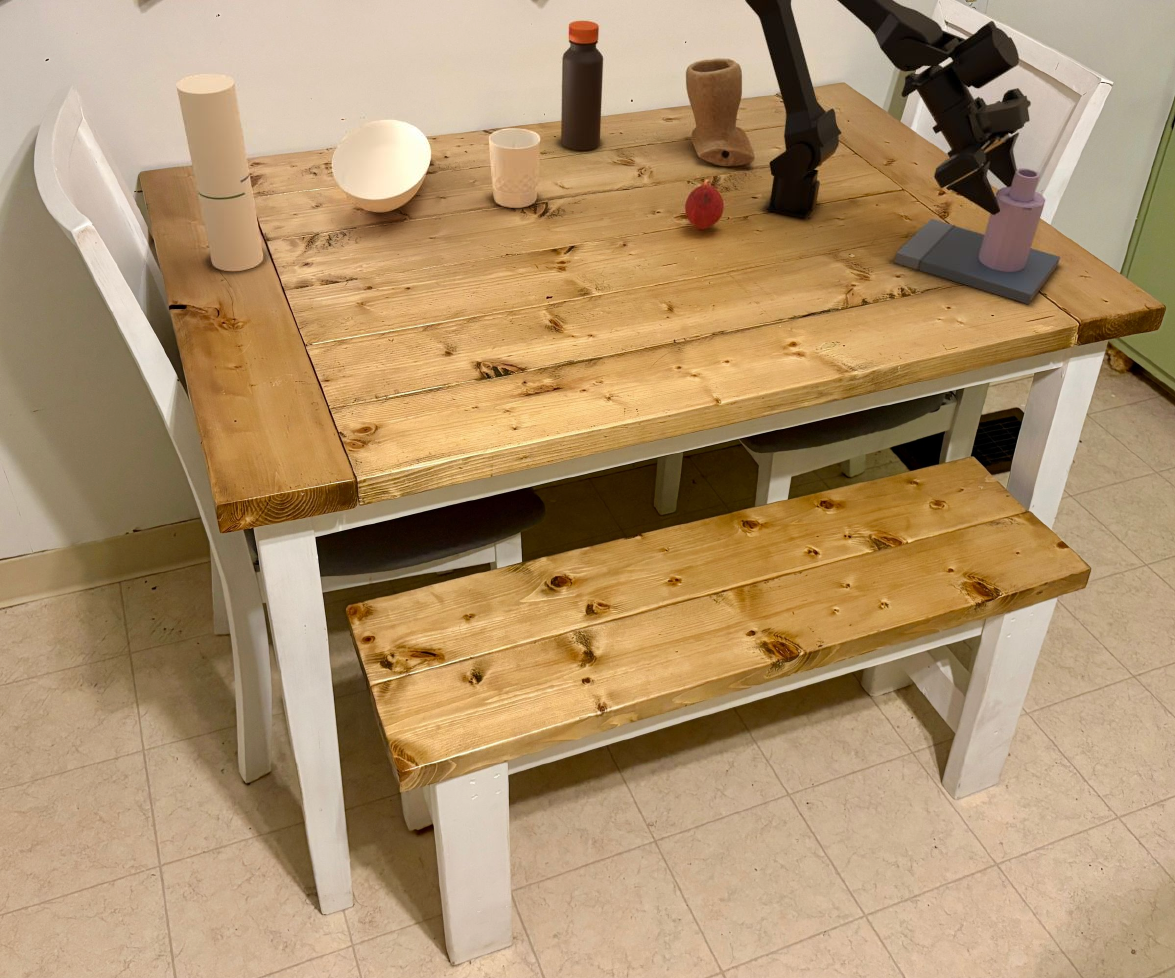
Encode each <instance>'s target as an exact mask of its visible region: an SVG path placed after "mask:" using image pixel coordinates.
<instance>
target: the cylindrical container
mask: <svg viewBox="0 0 1175 978" xmlns="http://www.w3.org/2000/svg"><path fill="white" fill-rule="evenodd" d="M175 86H176V91H177V96H178V101H179V105H180V111H181V115H182V121H183V125H184V132H185V136H186V142H187V146H188V151H189V156H190V161H191V162H190V163H191V166H192V172H193V176H194V180H195V187H196V192H197V196H198V201H199V206H200V211H201V216H202V221H203V226H204V230H205V236H206V241H207V246H208V250H209V256H210V261H211V264H212V266H213V267H214V268H216V269H218V270H221V271H226V272H240V271H241V272H242V271H246V270H250V269H253V268H255V267H257V266H259V265H260V264H261V263H262V262H263V260H264V252H263V246H262V241H261V235H260V229H259V222H258V217H257V211H256V210H257V209H256V205H255V199H254V194H253V193H254V192H253V186H252V180H251V174H250V168H249V162H248V157H247V151H246V150H247V149H246V145H245V139H244V132H243V125H242V121H241V114H240V108H239V102H238V97H237V92H236V85H235V80H234V79H233V78H232V77H230V76H228V75H225V74H219V73H200V74H194V75H190V76H186V77H183V78H181V79H180V80H178V81H177V82H176V85H175Z"/></svg>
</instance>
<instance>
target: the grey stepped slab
mask: <svg viewBox="0 0 1175 978" xmlns="http://www.w3.org/2000/svg"><path fill="white" fill-rule="evenodd" d="M984 235H985V233H980V232H977V231H974V230H971V229H967V228H963V227H960V226H956V225H955V224H951V223H948V222H945V221H941V220H938V219H934V218H930V220H928V221H927V222H926V223H925V224H924V225H923V226H922V227H921V228H920V229H919V230H918V231H917V232H916V233H915V234H914V235H913V236H912V237H911V238H910V239H909V240H908V241H907V242H906V243H905V244H904V245H903V246H902V247H901V248H900V249H899V250H898V251H897V252H896V253H895V258H894V263H895V264H897V265H900V266H903V267H907V268H911V269H913V270H915V271H916V270H917V271H920V272H923V273H927V274H930V275H933V276H935V277H939V278H943V279H946V280H949V281H952V282H955V283H959V284H961V285H965V286H968V287H971V288H975V289H977V290H980V291H984V292H988V293H990V294H994V295H997V296H1000V297H1003V298H1007V299H1009V300H1013V301H1016V302H1019V303H1022V304H1026V305H1030V303H1031V302H1032V300H1033V299H1034V297H1035V296H1036V295H1037V294H1038V292H1039V291H1040V290H1041V288H1042V287H1043V286H1044V284H1045V283H1046V282H1047V281H1048V279H1049V278H1050V276H1051V275H1052V274H1053V273H1054V271H1055V270H1056V269H1057V267H1058V265H1059V262H1060V259H1061V256H1059V255H1056V254H1052V253H1049V252H1044V251H1042V250H1038V249H1035V248H1032V247H1031V249H1030V252H1029V255H1028V258H1027V261H1026V264H1025V267H1024V268H1023V269H1022V270H1019V271H1015V272H1004V271H998V270H994V269H991V268H989V267H987V266H985V265H984V264H982V263H981V262H980V260H979V253H980V249H981V246H982V242H983V239H984Z"/></svg>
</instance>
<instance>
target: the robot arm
mask: <svg viewBox="0 0 1175 978" xmlns="http://www.w3.org/2000/svg"><path fill="white" fill-rule="evenodd" d="M744 1H745V3H746V4H747V5H748V7H750V9H751V11H753V12H754V13H755V15H756V16H757V17H758V19H759V22H760V25H761V28H762V32H763V36H764V39H765V43H766V47H767V50H768V53H769V57H770V61H771V64H772V67H773V71H774V75H775V77H776V81H777V85H778V89H779V92H780V96H781V99H782V103H783V105H784V109H785V122H784V123H785V124H784V132H783V140H784V147H785V150H784V151H783V152H782V153H780V154H778V155H777V156H776V157H775V158H773V159H771V160H770V161H769V162H768V164H769V169H770V174H771V176H773V179H772V185H771V191H770V199H769V203H768V204H767V205H766V207H765V210H766V211H768V212H773V213H776V214H781V215H786V216H790V217H796V218H799V219H806V218H807V217H808V215H809V214H810V212H812V211H813V210H814V209H815V207H816V206H817V203H818V196H819V192H820V191H819V190H820V185H821V181H820V180H818V175H819V169H818V168H819V167H820V166H822V165H823V163H824V162H826V161H827V160H829V159H830V158H831V157H833V155H834V154H836V151H837V149H838V148H839V145H840V138H839V136H840V135H841V134H842V130H841V129H840V128H839V126H838V123H837V116H836V115H837V114H836V111H835V109H834V108H830V109H828V110H825V109H824V108H823V107H822V106H821V104H820V103H819V102H818V100H817V96H816V93H815V89H814V86H813V81H812V77H811V74H810V71H809V68H808V62H807V60H806V55H805V53H804V48H803V45H802V42H801V38H800V34H799V30H798V27H797V23H796V19H795V16H794V11H793V9H792V0H744ZM836 1H837V2H839V4H841V5H842V6H843V7H844V8H845V9H846V10H847V11H848V12H850V13H851V14H852V15H853V16H854V17H856V18H857V19H858V20H859V21H860V22H861V23H862V24H864V25H865V26H866V27H867V28H868V29H869V31H871V33H872V34H873V36H874V38H875V39H876V41H877V43H878V46H879V48H880V50H881V51H882V52H883V54H884V55H885V56H886V57H887V58H888V60H889V61H890V62H891V64H892V65H893V66H894V68H896V69H898V70H899V71H902V72H905V73H907V72H910V73H908V74H907V75H906V76H905V77H904V85H903V88H902V91H901V97H903V98H906V97H907V96H910V95H911V94H912V93H914V92H915V91H917V93H918V95H919V96H920V98H921V100H922V102H923V103H924V105H925V107H926V108H927V111H928V112H929V113H930V115H931V117H932V118H933V120H934V122H935V125H934V126H932V131H933V132H934V134H935V135H937V134H938V133H941V134H942V136H943V138H944V140H945V141H946V143H947V144H948V146H949V148H950V150H949V151H948V152H947V153H946V154H947V156H948V158H947V159H945V160H943V162H941V163H940V164H939V165H938V166H937V167H936V168H935V173H934V174H933V175H934V176H933V178H934V180H935V182H936V183H937V185H938V187H939V188H940V189H944V188H946V190H947V191H953V192H954V193H956V194H957V195H960V197H961V196H962V197H963V198H965V199H967V200H968V201H970V202H972V203H973V204H975V205H976V206H978V207H980V208H981V209H983V210H984V211H986V212H987V213H989V214H992V215H995V214H997V213H999V212H1000V208H999V205H998V202H997V200H996V197H995V196H996V194H995V193H994V190H993V188H992V186H991V183H990V181H989V178H988V172H991V174H993V175H994V176H995V178H997V179H998V180H999V181H1000V182H1001V183H1002V184H1003V185H1004V186H1006V187H1011V185H1012V182H1013V178H1014V175H1015V172H1016V170H1017V169H1018V167H1017V163H1016V158H1015V152H1014V148H1015V145H1016V142H1017V139H1018V138H1019V136H1020V132H1017V131H1019V130H1021V129H1023V128H1024V126H1025V125H1026V124H1027V123H1029V122H1031V121H1030V120H1031V119H1030V112H1029V108H1030V107H1031V105H1032V102H1031V101H1030V100H1029V99H1028V96H1027V95H1024V94H1023V93H1022V91H1021V89H1020V88H1019V87H1017V88H1012V89H1007V90H1006V92H1005V93H1004V94H1003V97H1002V100H998V101H996V102H993V103H990V104H987V103H986V101H985V100H984V98H982V97H980V96H978V97H977V96H976V98H974V96H973V95H972V93H971V91H970V89H969V88H971V87H972V88H974V89H977V90H978V89H979V90H980V89H981V88H984V87H985V86H986V85H988V84H990V83H992V82H993V81H994V80H996V79H998V78H999V77H1001V76H1003V75H1004V74H1006V73H1007V72H1009V71H1010V70H1012V69H1014V68H1016V67H1017V66H1018V65H1019V62H1020V56H1019V52H1018V49H1017V46H1016V44H1015V42H1014V40H1013V38H1012V37H1011V36H1008V34H1007V33H1006V32H1005V31H1004V30H1003V29H1001V28H999V27H997V25H996V23H995V22H994V20H990V21H989V22H987V23H986V24H984V25H983V26H981V27H980V28H979V29H978V30H977V31H976V32H975V33H973V34H972V35H970V36H969V37H968V38H964V37H961V36H959V35H956V34H953V33H951V32H948V31H945V30H943V28H942V26H941V25H940V24H939V23H938V22H937V21H935V20H934V19H933V18H931V17H929V16H928V15H925V14H923V13H922V12H920V11H918V10H916V9H913V8H911V7H908V6H904V5H902V4H900V3H898V2H897V1H895V0H836ZM949 58H950V59H951V60H952V61H951V62H949V63H947V64H946V65H944V66H942V65H941V64H942V63H944V62H946V61H947V60H948V59H949ZM922 67H927V68H925V70H922V71H921V72H919V73H915V71H918V70H919V69H921V68H922ZM1009 134H1010V135H1011V136H1010V135H1009Z"/></svg>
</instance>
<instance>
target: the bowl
mask: <svg viewBox="0 0 1175 978" xmlns="http://www.w3.org/2000/svg"><path fill="white" fill-rule="evenodd" d="M431 159H432V150H431V145H430V142H429V140H428V138H427V137H426V135H425V134H424V133H423V132H422V131H421V129H419V128H417V126H415V125H413V124H410V123H408V122H405V121H403V120H402V121H401V120H396V119H380V120H374V121H371V122H368V123H364V124H363V125H360V126H358V127H356V128H355V129H353V130H352V131H350V132H349V133H348V134H347V135H345V136H344V138H343V139H341V141H340V142H339V143H338V145H337V147H336V148H335V150H334V152H333V156H332V160H331V171H332V176H333V178H334V180H335V183H336V184H337V185H338V187H339V189H340V191H341V192H342V193H343V194H344V196H345V197H346V198H347V199H348V200H349V201H350V202H351V203H352V204H354V205H355V206H356V207H358V208H360V209H362V210H365V211H369V212H373V213H388V212H392V211H394V210H396V209H399V208H400V207H402V206H404V205H405V204H407V203H408V202H409V201H410V200H411V199H412V198H413V197H414V196H415V195H417V192H418V191H419V190H420V188H421V186H422V184H423V182H424V180H425V178H426V176H427V173H428V170H429V167H430V164H431Z"/></svg>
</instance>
